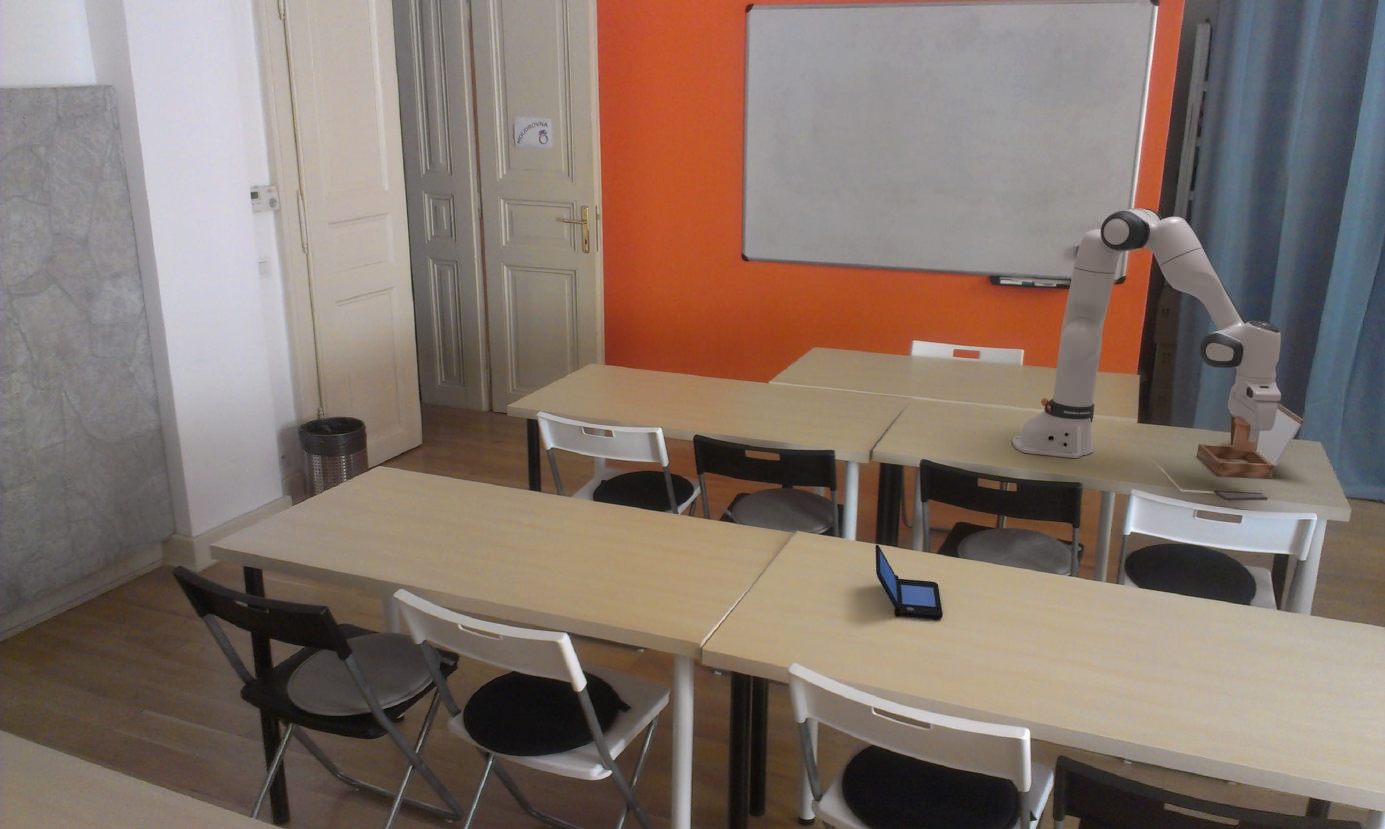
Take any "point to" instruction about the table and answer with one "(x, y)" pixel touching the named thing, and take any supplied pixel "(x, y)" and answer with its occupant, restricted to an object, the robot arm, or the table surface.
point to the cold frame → (1234, 462)
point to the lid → (1279, 435)
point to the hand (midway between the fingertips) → (1245, 437)
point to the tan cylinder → (1243, 437)
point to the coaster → (1241, 495)
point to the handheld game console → (908, 592)
